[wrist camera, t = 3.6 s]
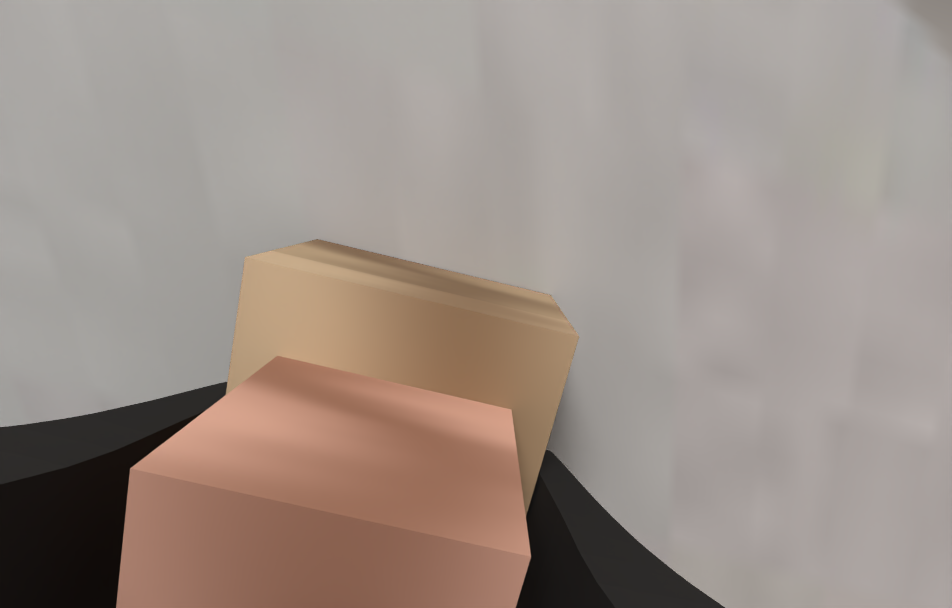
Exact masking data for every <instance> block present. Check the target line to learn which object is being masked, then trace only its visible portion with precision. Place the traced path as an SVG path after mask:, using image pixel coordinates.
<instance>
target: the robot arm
mask: <svg viewBox="0 0 952 608" xmlns="http://www.w3.org/2000/svg"><path fill="white" fill-rule="evenodd" d="M226 389H227V382H224V383H219V384H215V385H211V386H207V387H203V388H199V389H195V390H191V391H187V392H183V393H180V394H176V395H172V396H168V397H164V398H160V399H156V400H152V401H148V402H143V403H139V404H134V405H130V406H125V407H121V408H116V409H112V410H107V411H103V412H98V413H93V414H88V415H83V416H77V417H72V418H66V419H60V420H53V421H46V422H39V423H33V424H26V425H18V426H9V427H0V608H116V604H117V594H118V584H119V574H120V564H121V554H122V544H123V534H124V524H125V514H126V504H127V494H128V484H129V475H130V468H131V467H133V466H134V465H135V464H137V463H138V462H139V461H141V460H142V459H143V458H144V457H146V456H147V455H148V454H150V453H151V452H152V451H154V450H155V449H156V448H157V447H159V446H160V445H161V444H163V443H164V442H165V441H167V440H168V439H169V438H171V437H172V436H173V435H174V434H176V433H177V432H178V431H180V430H181V429H182V428H184V427H185V426H186V425H188V424H189V423H190V422H191V421H193V420H194V419H195V418H197V417H198V416H199V415H201V414H202V413H203V412H204V411H206V410H207V409H208V408H210V407H211V406H212V405H214V404H215V403H216V402H218V401H219V400H220V399H221V398H223V397H224V396H225V395H226ZM526 522H527V530H528V537H529V545H530V552H531V559H530V562H529V565H528V569H527V572H526V575H525V578H524V582H523V585H522V588H521V592H520V595H519V598H518V602H517V605H516V608H725V607H723V606H722V605H720V604H719V603H718V602H716V601H715V600H713V599H712V598H710V597H709V596H707V595H706V594H705V593H703V592H702V591H700V590H699V589H697V588H696V587H694V586H693V585H692V584H690V583H689V582H688V581H686V580H685V579H684V578H682V577H681V576H680V575H678V574H677V573H676V572H674V571H673V570H672V569H671V568H669V567H668V566H667V565H666V564H664V563H663V562H662V561H661V560H660V559H658V558H657V557H656V556H655V555H653V554H652V553H651V552H650V551H649V550H647V549H646V548H645V547H644V546H643V545H642V544H640V543H639V542H638V541H637V540H636V539H635V538H634V537H633V536H632V535H631V534H629V533H628V532H627V531H626V530H625V529H624V528H623V527H622V526H621V525H620V524H619V523H618V522H617V521H616V520H615V519H614V518H613V517H612V516H611V515H610V514H609V513H608V512H607V511H606V510H605V509H604V508H603V507H602V506H601V505H600V504H599V503H598V502H597V501H596V500H595V499H594V498H593V497H592V496H591V494H590V493H589V492H588V491H587V490H586V489H585V488H584V487H583V486H582V485H581V483H580V482H579V481H578V480H577V479H576V478H575V477H574V476H573V475H572V473H571V472H570V471H569V470H568V469H567V468H566V467H565V466H564V465H563V463H562V462H561V461H560V460H559V459H558V458H557V457H556V456H555V455H554V454H553V453H552V452H551V451H549V450H545V454H544V457H543V460H542V464H541V467H540V471H539V474H538V477H537V481H536V484H535V488H534V491H533V494H532V498H531V501H530V504H529V508H528V511H527V515H526Z"/></svg>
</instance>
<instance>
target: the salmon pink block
mask: <svg viewBox="0 0 952 608" xmlns="http://www.w3.org/2000/svg"><path fill="white" fill-rule="evenodd" d="M530 559H531V552H530V545H529V537H528V530H527V522H526V515H525V507H524V500H523V492H522V485H521V477H520V470H519V462H518V455H517V447H516V440H515V432H514V425H513V417H512V410H511V409H507V408H502V407H498V406H494V405H489V404H485V403H481V402H476V401H472V400H468V399H463V398H459V397H455V396H450V395H446V394H442V393H437V392H433V391H429V390H424V389H420V388H416V387H411V386H407V385H403V384H398V383H394V382H390V381H385V380H381V379H377V378H372V377H368V376H364V375H359V374H355V373H351V372H346V371H342V370H338V369H333V368H329V367H325V366H320V365H316V364H312V363H307V362H303V361H299V360H294V359H290V358H286V357H281V356H276V357H275V358H274V359H272V360H271V361H270V362H268V363H267V364H266V365H265V366H263V367H262V368H261V369H259V370H258V371H257V372H255V373H254V374H253V375H251V376H250V377H249V378H248V379H246V380H245V381H244V382H242V383H241V384H240V385H238V386H237V387H236V388H235V389H233V390H232V391H231V392H229V393H228V394H227V395H225V396H224V397H223V398H221V399H220V400H219V401H218V402H216V403H215V404H214V405H212V406H211V407H210V408H208V409H207V410H206V411H204V412H203V413H202V414H201V415H199V416H198V417H197V418H195V419H194V420H193V421H191V422H190V423H189V424H188V425H186V426H185V427H184V428H182V429H181V430H180V431H178V432H177V433H176V434H174V435H173V436H172V437H171V438H169V439H168V440H167V441H165V442H164V443H163V444H161V445H160V446H159V447H157V448H156V449H155V450H154V451H152V452H151V453H150V454H148V455H147V456H146V457H144V458H143V459H142V460H141V461H139V462H138V463H137V464H135V465H134V466H133V467H131V468H130V475H129V484H128V494H127V504H126V514H125V524H124V534H123V544H122V554H121V564H120V574H119V584H118V594H117V604H116V608H516V605H517V602H518V598H519V595H520V592H521V588H522V585H523V582H524V578H525V575H526V572H527V569H528V565H529V562H530Z"/></svg>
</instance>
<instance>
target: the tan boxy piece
mask: <svg viewBox="0 0 952 608" xmlns="http://www.w3.org/2000/svg"><path fill="white" fill-rule="evenodd" d="M578 339H579V336H578V334H577V333H576V331H575V330H574V328H573V327H572V325H571V324H570V323H569V321H568V320H567V318H566V317H565V315H564V314H563V312H562V311H561V310H560V308H559V307H558V305H557V304H556V302H555V301H554V299H553V298H552V296H551V295H548V294H544V293H540V292H535V291H531V290H527V289H523V288H519V287H514V286H510V285H506V284H502V283H498V282H494V281H489V280H485V279H481V278H477V277H473V276H469V275H464V274H460V273H456V272H452V271H448V270H444V269H439V268H435V267H431V266H427V265H423V264H419V263H414V262H410V261H406V260H402V259H398V258H394V257H389V256H385V255H381V254H377V253H373V252H368V251H364V250H360V249H356V248H352V247H348V246H343V245H339V244H335V243H331V242H327V241H323V240H318V239H316V240H312V241H308V242H304V243H300V244H296V245H292V246H288V247H284V248H280V249H276V250H272V251H268V252H264V253H260V254H256V255H252V256H248V257H245V262H244V269H243V276H242V283H241V290H240V297H239V304H238V311H237V318H236V325H235V333H234V340H233V347H232V354H231V361H230V368H229V375H228V382H227V389H226V395H227V394H228V393H229V392H231V391H232V390H233V389H235V388H236V387H237V386H238V385H240V384H241V383H242V382H244V381H245V380H246V379H248V378H249V377H250V376H251V375H253V374H254V373H255V372H257V371H258V370H259V369H261V368H262V367H263V366H265V365H266V364H267V363H268V362H270V361H271V360H272V359H274V358H275V357H276V356H281V357H286V358H290V359H294V360H299V361H303V362H307V363H312V364H316V365H320V366H325V367H329V368H333V369H338V370H342V371H346V372H351V373H355V374H359V375H364V376H368V377H372V378H377V379H381V380H385V381H390V382H394V383H398V384H403V385H407V386H411V387H416V388H420V389H424V390H429V391H433V392H437V393H442V394H446V395H450V396H455V397H459V398H463V399H468V400H472V401H476V402H481V403H485V404H489V405H494V406H498V407H502V408H507V409H511V410H512V417H513V425H514V432H515V440H516V447H517V455H518V462H519V470H520V477H521V485H522V492H523V500H524V507H525V515H527V511H528V508H529V504H530V501H531V498H532V494H533V491H534V488H535V484H536V481H537V477H538V474H539V471H540V467H541V464H542V460H543V457H544V454H545V450H546V447H547V444H548V440H549V437H550V433H551V430H552V427H553V423H554V420H555V416H556V413H557V410H558V406H559V403H560V400H561V396H562V393H563V389H564V386H565V383H566V379H567V376H568V372H569V369H570V366H571V362H572V359H573V355H574V352H575V349H576V345H577V342H578Z"/></svg>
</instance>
